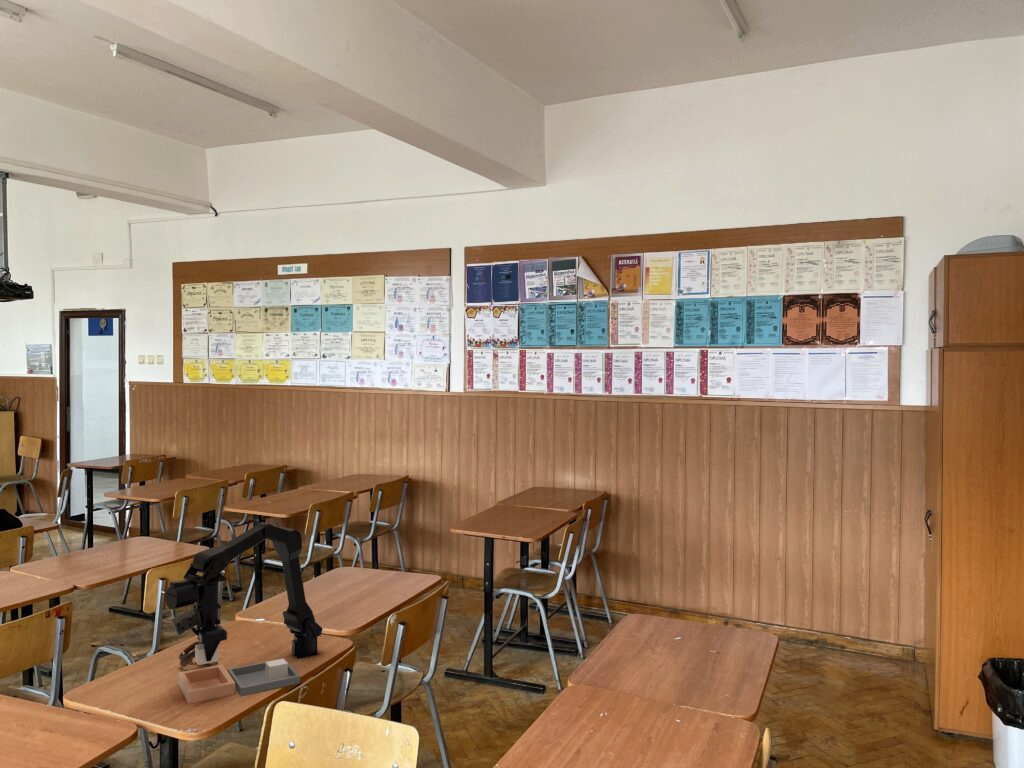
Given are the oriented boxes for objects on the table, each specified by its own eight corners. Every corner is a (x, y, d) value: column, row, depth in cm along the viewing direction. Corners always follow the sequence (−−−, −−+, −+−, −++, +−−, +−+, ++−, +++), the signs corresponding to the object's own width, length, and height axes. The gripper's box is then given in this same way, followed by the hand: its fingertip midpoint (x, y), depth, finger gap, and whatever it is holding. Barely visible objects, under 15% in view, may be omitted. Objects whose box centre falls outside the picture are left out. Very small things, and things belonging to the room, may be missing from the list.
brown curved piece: (212, 675, 212) (196, 652, 210) (184, 687, 214) (168, 664, 212) (230, 649, 223) (215, 627, 222) (203, 660, 225) (188, 638, 223)
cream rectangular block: (214, 656, 204) (215, 641, 203) (218, 661, 200) (218, 646, 200) (195, 660, 201) (195, 645, 201) (198, 665, 197) (198, 649, 197)
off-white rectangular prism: (283, 672, 212) (283, 658, 212) (287, 677, 209) (287, 663, 209) (265, 676, 209) (265, 662, 209) (269, 681, 206) (269, 667, 206)
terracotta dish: (222, 676, 210) (222, 664, 210) (235, 696, 198) (235, 682, 198) (177, 685, 203) (178, 672, 203) (188, 706, 192) (188, 692, 191)
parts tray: (283, 667, 217) (284, 658, 217) (300, 685, 205) (300, 675, 205) (227, 678, 209) (227, 669, 209) (241, 698, 197) (241, 688, 197)
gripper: (168, 595, 203) (167, 652, 204) (181, 615, 188) (180, 677, 188) (211, 589, 210) (211, 645, 210) (227, 608, 194) (227, 668, 194)
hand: (206, 658), depth 201 cm, fingers closed on cream rectangular block, 4 cm apart
